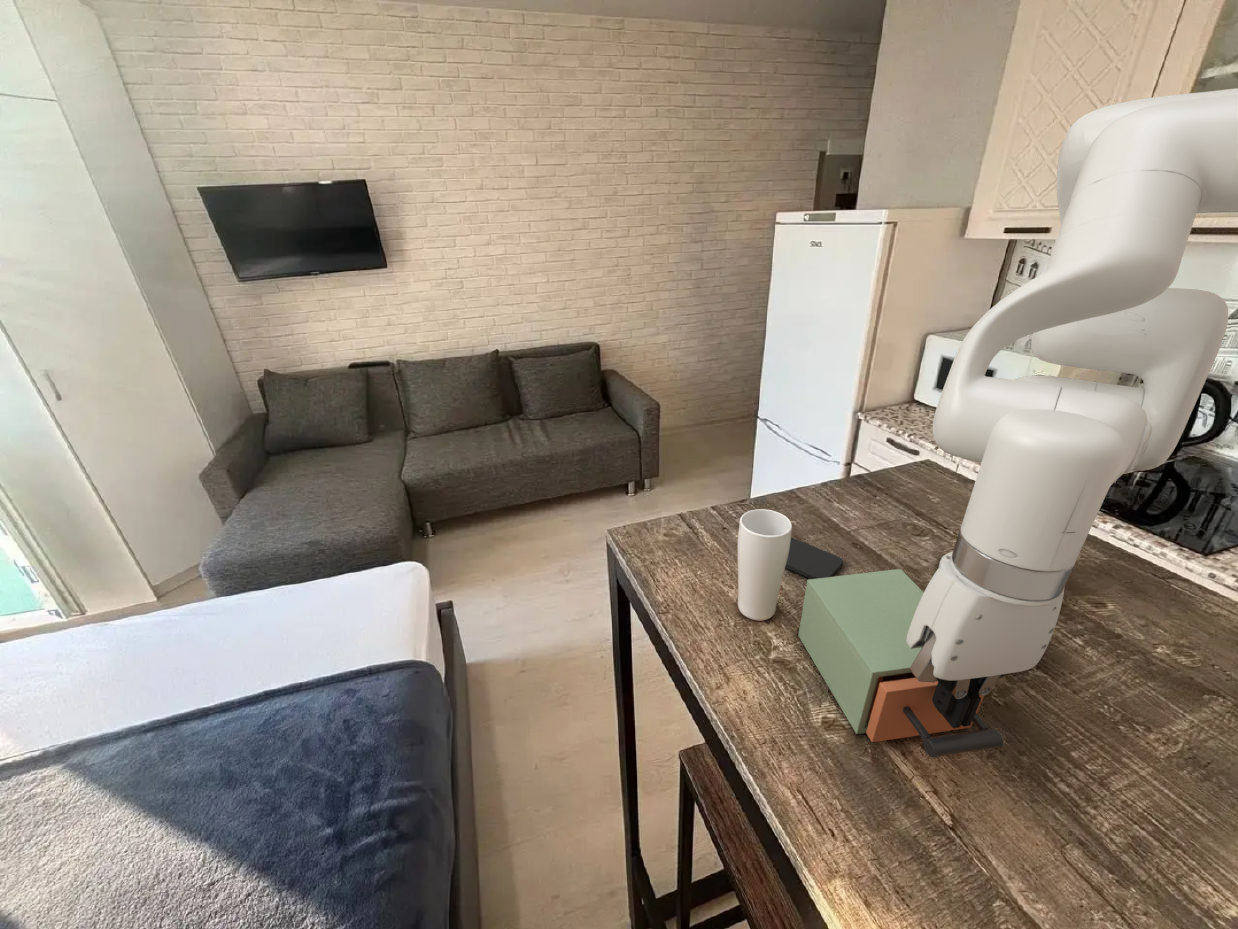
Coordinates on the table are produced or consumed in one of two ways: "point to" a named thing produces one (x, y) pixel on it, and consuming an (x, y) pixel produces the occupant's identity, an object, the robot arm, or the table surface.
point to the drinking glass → (761, 561)
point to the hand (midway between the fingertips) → (949, 713)
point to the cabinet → (859, 634)
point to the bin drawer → (921, 718)
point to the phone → (812, 561)
